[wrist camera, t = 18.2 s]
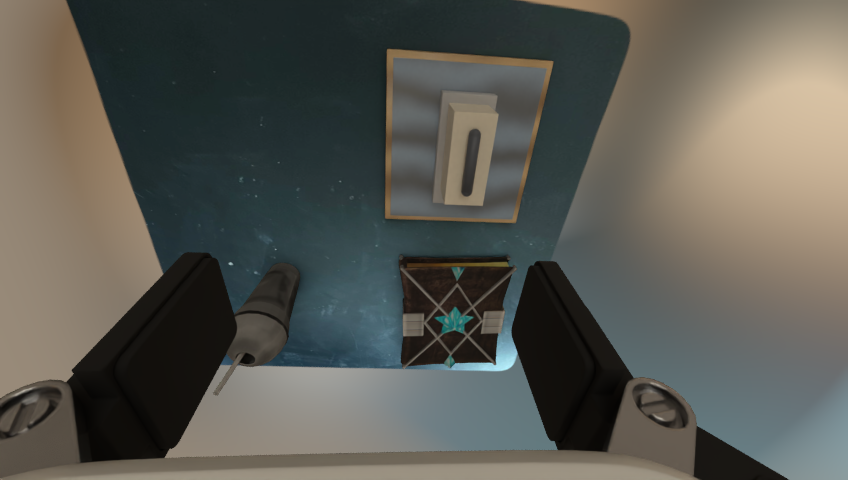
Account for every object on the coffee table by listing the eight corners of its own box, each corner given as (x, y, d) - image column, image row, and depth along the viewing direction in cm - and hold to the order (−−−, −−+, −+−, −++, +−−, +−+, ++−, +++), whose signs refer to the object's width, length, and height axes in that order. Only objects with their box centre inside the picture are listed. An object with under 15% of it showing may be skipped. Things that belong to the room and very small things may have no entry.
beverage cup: (307, 297, 55) (264, 419, 38) (258, 289, 53) (191, 412, 36) (312, 260, 51) (267, 377, 34) (260, 250, 50) (186, 367, 33)
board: (387, 48, 37) (386, 49, 36) (548, 60, 39) (555, 61, 37) (385, 213, 48) (385, 219, 46) (512, 218, 49) (516, 224, 48)
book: (399, 253, 51) (398, 274, 47) (510, 252, 52) (520, 272, 48) (401, 352, 63) (400, 376, 58) (492, 350, 64) (499, 373, 59)
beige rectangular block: (441, 90, 38) (448, 102, 32) (494, 93, 38) (512, 106, 32) (431, 198, 45) (436, 225, 39) (477, 199, 45) (489, 226, 39)
